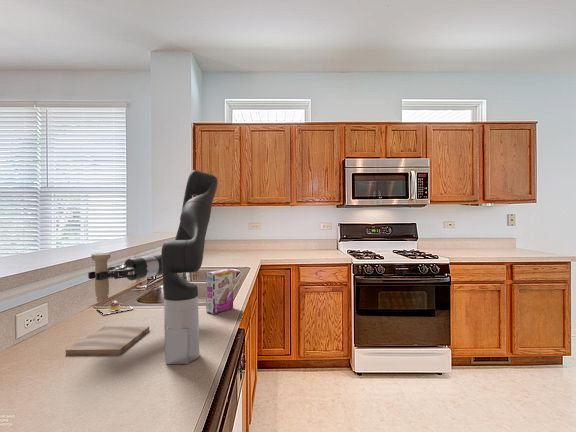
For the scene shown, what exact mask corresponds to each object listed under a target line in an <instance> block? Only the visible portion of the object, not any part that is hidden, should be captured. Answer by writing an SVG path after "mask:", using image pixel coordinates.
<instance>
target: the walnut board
mask: <svg viewBox="0 0 576 432" xmlns="http://www.w3.org/2000/svg"><path fill="white" fill-rule="evenodd" d="M148 332H150V326H148V325H146V326H145V325H144V326H142V325H141V326H140V325H138V326H135V325H134V326H128V325H127V326H102V327H101V328H99V329H97V330H96V331H94V332H92V333H91V334H89V335H87V336H86V337H84V338H82V339H81V340H79V341H78V342H76V343H74V344H73V345H71V346H69V347H68V348H66V349H65V355H66V356H68V355H69V356H70V355H71V356H79V355H81V356H84V355H85V356H89V355H91V356H92V355H95V356H99V355H100V356H102V355H103V356H105V355H106V356H107V355H108V356H109V355H112V356H113V355H117V356H118V355H119V356H120V355H122V354H123V353H124V352H126V350H128V349H129V348H130V347H132V346H133V344H135V343H136V342H138V341H139V340H140V339H141V338H142V337H143V336H144V335H146V334H147V333H148Z"/></svg>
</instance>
